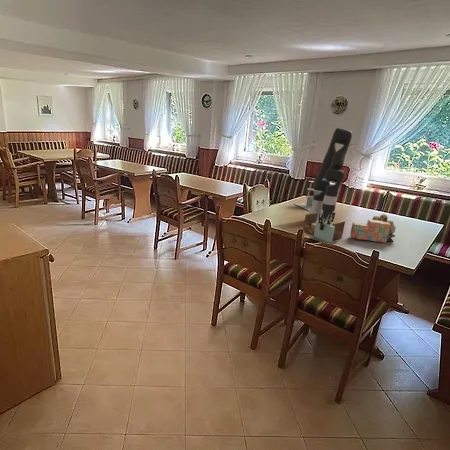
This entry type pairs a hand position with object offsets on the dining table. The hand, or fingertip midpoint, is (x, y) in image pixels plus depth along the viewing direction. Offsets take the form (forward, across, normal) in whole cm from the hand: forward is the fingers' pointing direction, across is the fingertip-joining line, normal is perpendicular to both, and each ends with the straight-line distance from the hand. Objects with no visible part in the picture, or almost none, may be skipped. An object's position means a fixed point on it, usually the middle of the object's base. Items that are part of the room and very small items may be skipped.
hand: (324, 229), depth 203 cm
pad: (+7, 0, 0) cm, 7 cm away
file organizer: (+8, -75, -57) cm, 94 cm away
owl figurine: (+7, -39, +17) cm, 43 cm away
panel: (+7, 0, 0) cm, 7 cm away
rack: (+7, -11, -8) cm, 15 cm away
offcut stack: (+6, -9, -8) cm, 14 cm away
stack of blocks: (+6, -29, +14) cm, 33 cm away
